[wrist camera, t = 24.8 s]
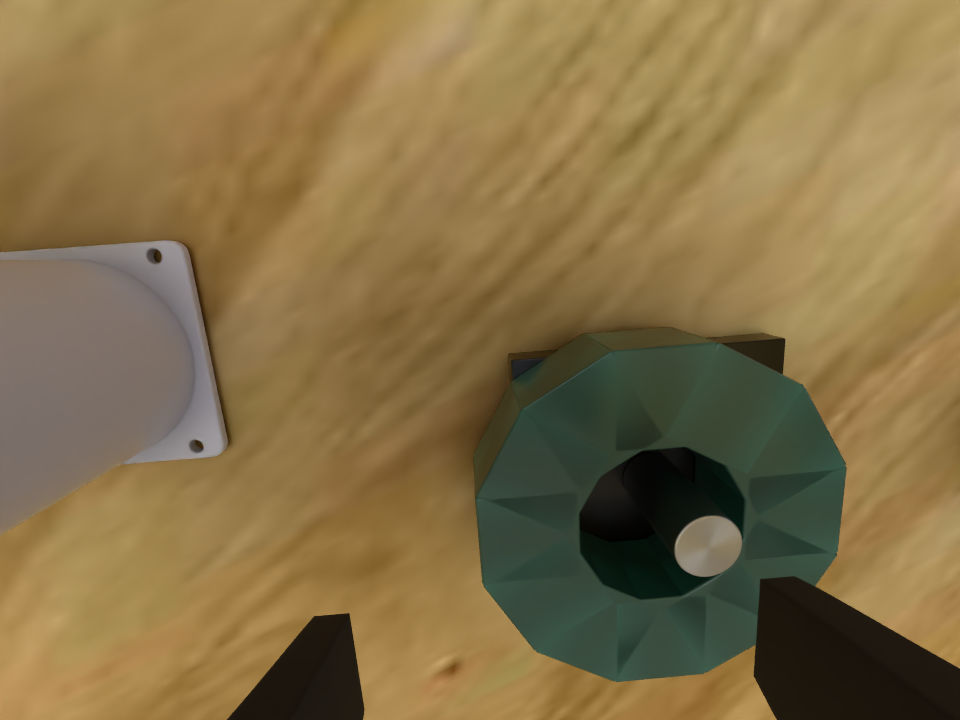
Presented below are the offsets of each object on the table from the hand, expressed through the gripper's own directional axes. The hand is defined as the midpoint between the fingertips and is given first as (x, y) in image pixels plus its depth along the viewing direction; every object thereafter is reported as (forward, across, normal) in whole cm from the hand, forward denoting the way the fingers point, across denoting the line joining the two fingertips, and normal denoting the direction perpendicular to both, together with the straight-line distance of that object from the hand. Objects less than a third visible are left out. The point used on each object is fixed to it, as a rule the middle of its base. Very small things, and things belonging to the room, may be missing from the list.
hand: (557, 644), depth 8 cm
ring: (+9, -4, +2) cm, 10 cm away
